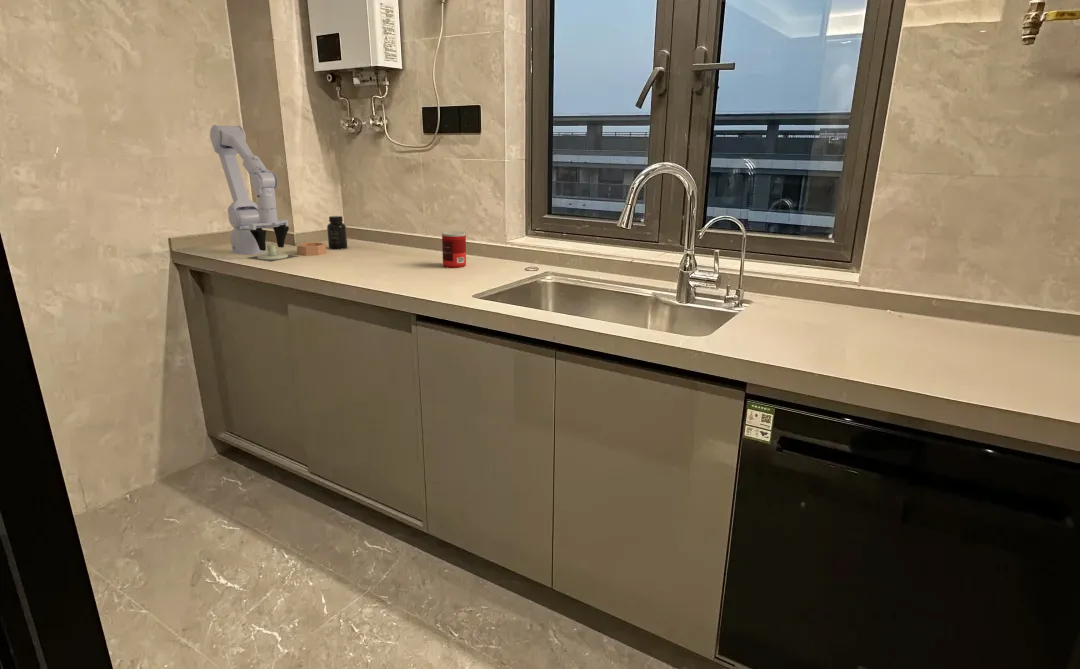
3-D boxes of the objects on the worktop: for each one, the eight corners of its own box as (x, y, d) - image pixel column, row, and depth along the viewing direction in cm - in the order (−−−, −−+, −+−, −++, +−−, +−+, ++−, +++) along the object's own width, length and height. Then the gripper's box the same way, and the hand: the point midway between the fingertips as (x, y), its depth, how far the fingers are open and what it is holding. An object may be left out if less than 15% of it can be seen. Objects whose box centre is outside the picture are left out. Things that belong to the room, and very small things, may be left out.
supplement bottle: (351, 247, 238) (349, 216, 235) (337, 250, 233) (334, 217, 229) (339, 246, 242) (336, 215, 238) (324, 248, 236) (322, 216, 233)
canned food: (468, 264, 210) (467, 231, 207) (463, 268, 202) (462, 235, 199) (446, 263, 211) (445, 231, 208) (440, 267, 203) (439, 234, 200)
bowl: (292, 254, 221) (291, 245, 220) (312, 251, 230) (311, 241, 229) (311, 257, 217) (310, 247, 216) (332, 253, 226) (331, 243, 225)
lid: (250, 257, 212) (249, 246, 211) (274, 253, 221) (272, 242, 220) (271, 260, 208) (269, 248, 207) (294, 256, 217) (293, 244, 215)
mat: (246, 259, 212) (245, 258, 212) (274, 254, 222) (274, 253, 222) (271, 262, 207) (270, 261, 207) (299, 257, 217) (298, 256, 217)
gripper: (257, 211, 202) (262, 252, 205) (292, 207, 214) (296, 246, 218) (242, 209, 205) (247, 250, 208) (278, 206, 217) (282, 245, 221)
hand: (271, 248), depth 213 cm, fingers open, 7 cm apart
